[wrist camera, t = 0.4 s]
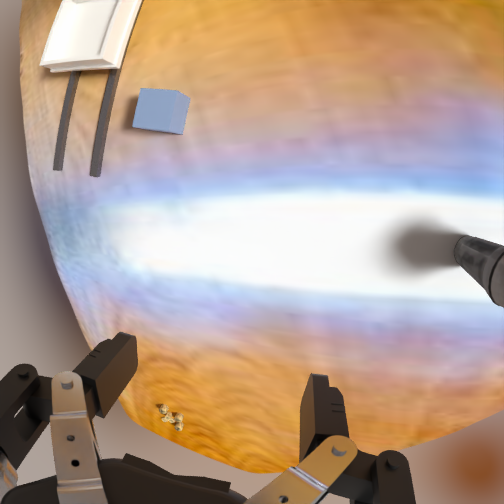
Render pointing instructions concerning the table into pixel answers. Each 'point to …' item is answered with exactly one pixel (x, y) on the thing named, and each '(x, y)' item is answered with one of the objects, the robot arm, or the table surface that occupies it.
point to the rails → (102, 120)
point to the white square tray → (89, 35)
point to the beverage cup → (483, 264)
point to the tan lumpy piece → (168, 416)
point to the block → (161, 110)
